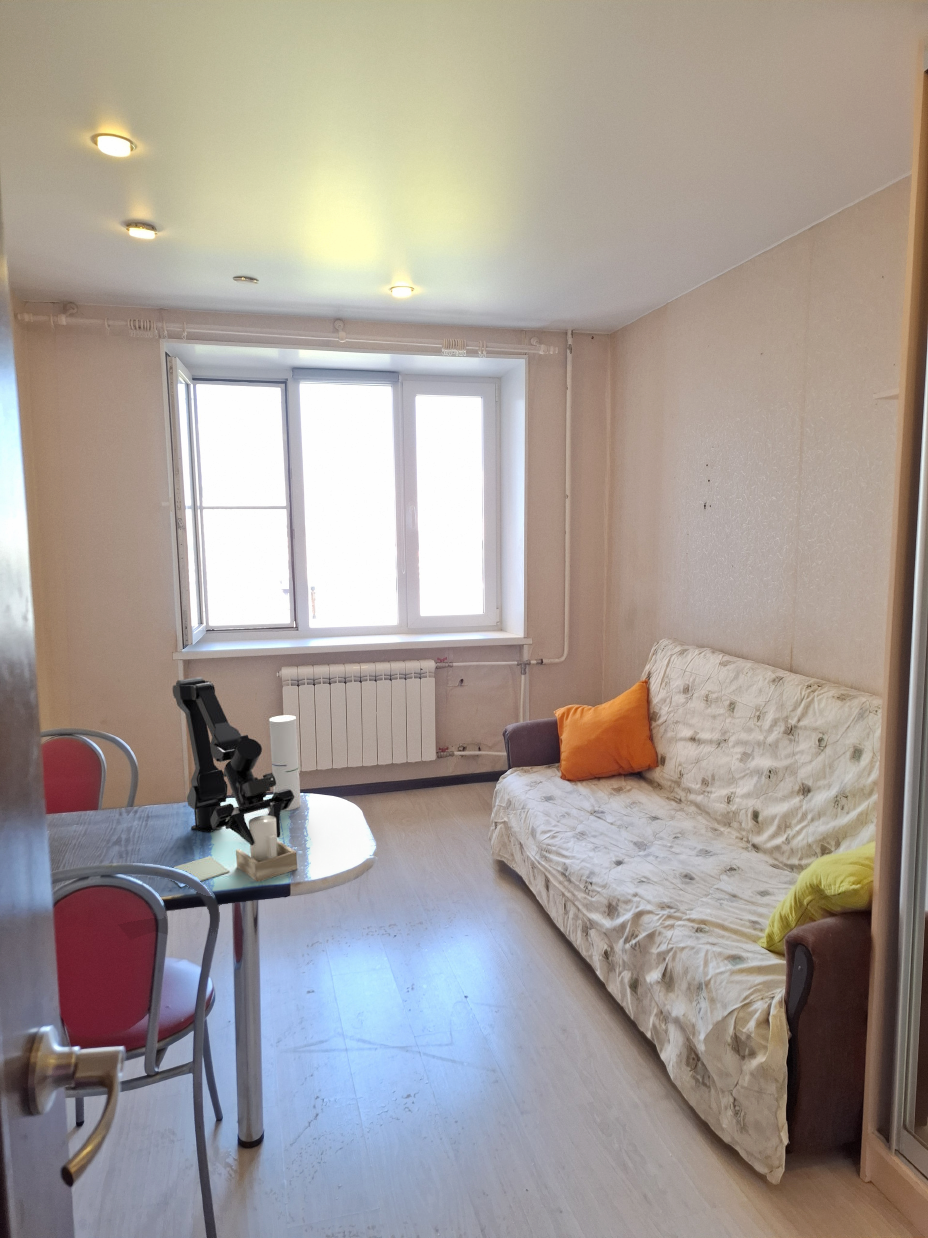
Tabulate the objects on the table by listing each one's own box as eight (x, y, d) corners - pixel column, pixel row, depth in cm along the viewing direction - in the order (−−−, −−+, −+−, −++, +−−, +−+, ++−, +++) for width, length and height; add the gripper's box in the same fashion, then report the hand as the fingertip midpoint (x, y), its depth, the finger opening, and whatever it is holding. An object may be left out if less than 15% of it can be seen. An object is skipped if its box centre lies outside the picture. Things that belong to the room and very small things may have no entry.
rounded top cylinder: (247, 866, 175) (244, 820, 174) (271, 858, 179) (268, 813, 177) (262, 877, 169) (259, 830, 167) (287, 869, 173) (284, 822, 171)
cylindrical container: (276, 802, 217) (271, 716, 214) (302, 800, 217) (297, 714, 214) (272, 811, 210) (267, 722, 207) (298, 809, 210) (293, 721, 207)
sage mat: (163, 871, 173) (163, 870, 173) (210, 857, 180) (210, 856, 180) (180, 887, 165) (180, 886, 165) (229, 872, 172) (229, 871, 172)
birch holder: (236, 866, 175) (235, 850, 174) (275, 854, 181) (274, 838, 180) (257, 882, 167) (256, 864, 166) (297, 868, 173) (296, 852, 172)
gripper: (211, 773, 169) (235, 835, 162) (288, 755, 181) (314, 812, 174) (200, 798, 176) (223, 859, 169) (275, 779, 188) (299, 835, 180)
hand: (266, 840), depth 173 cm, fingers closed on rounded top cylinder, 6 cm apart
